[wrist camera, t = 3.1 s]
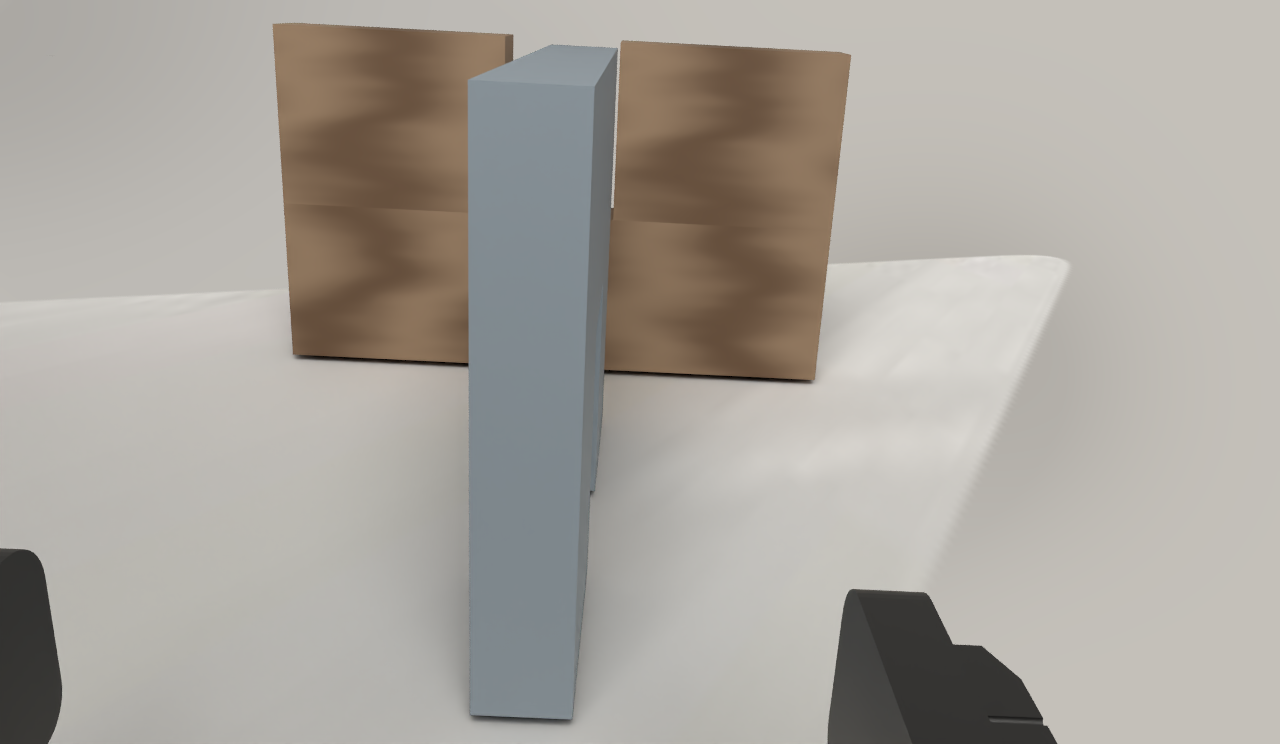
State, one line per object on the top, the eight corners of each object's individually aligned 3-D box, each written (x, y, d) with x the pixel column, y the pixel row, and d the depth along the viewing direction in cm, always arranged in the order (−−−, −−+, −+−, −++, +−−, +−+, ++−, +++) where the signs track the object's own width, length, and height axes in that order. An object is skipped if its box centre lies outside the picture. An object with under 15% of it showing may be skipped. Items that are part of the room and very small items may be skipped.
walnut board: (293, 354, 40) (272, 23, 36) (311, 335, 42) (294, 22, 38) (814, 380, 40) (851, 55, 36) (805, 360, 42) (838, 51, 38)
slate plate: (470, 715, 20) (467, 79, 16) (543, 413, 36) (551, 44, 32) (572, 719, 20) (595, 86, 16) (602, 416, 36) (617, 48, 32)
